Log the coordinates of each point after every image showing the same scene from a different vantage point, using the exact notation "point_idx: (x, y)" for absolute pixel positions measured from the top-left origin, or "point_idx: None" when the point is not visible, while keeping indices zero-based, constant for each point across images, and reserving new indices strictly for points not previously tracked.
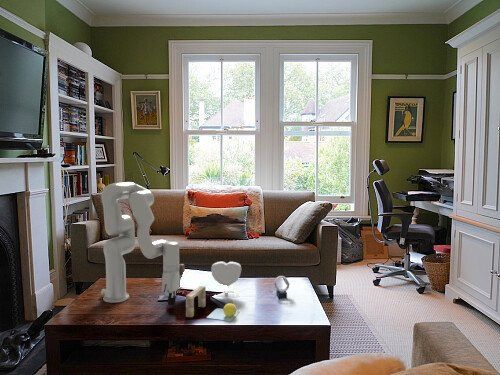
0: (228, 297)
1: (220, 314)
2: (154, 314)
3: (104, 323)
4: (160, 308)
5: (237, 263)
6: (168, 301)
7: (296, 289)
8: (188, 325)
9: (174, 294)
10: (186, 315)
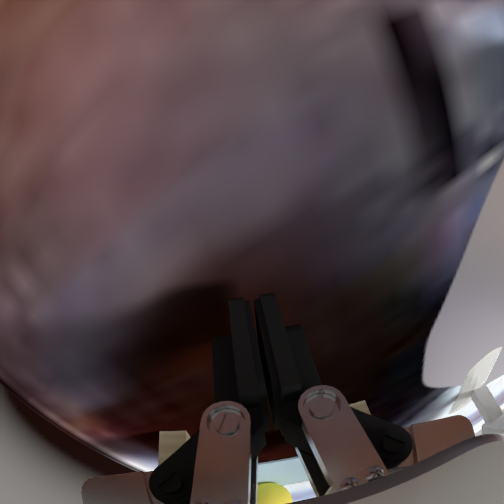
0: (457, 400)
1: (264, 475)
2: (17, 257)
3: None
4: (166, 198)
5: None
6: (232, 339)
7: (474, 430)
8: (97, 451)
9: (300, 457)
10: (159, 439)
